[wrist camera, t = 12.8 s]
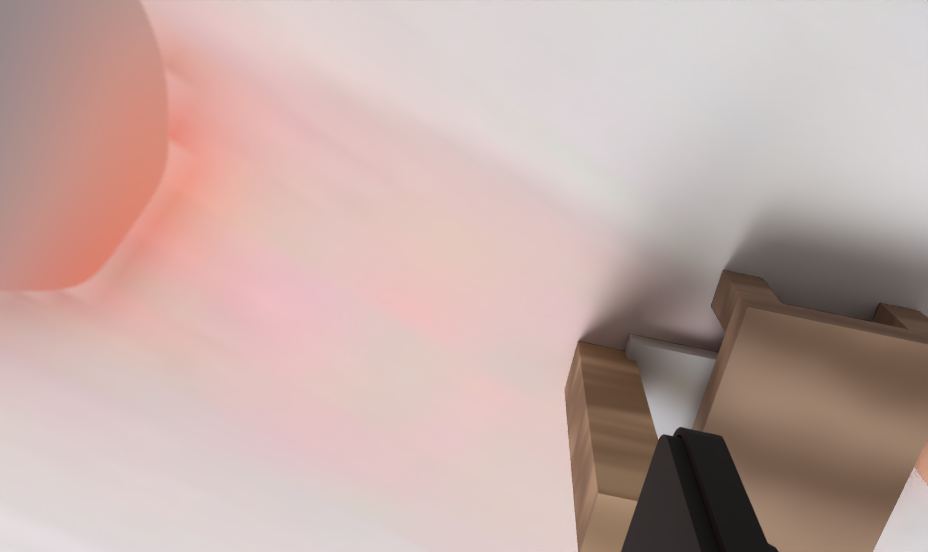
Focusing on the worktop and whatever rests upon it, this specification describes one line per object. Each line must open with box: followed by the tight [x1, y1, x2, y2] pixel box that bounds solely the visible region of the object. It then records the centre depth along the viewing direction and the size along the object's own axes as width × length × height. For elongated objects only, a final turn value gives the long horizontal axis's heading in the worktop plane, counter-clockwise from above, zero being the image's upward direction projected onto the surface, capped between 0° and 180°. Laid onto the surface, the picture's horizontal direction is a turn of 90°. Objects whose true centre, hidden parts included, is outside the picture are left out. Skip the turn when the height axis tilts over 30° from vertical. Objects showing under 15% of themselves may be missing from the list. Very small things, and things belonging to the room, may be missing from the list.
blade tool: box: [565, 334, 718, 552], centre depth 35 cm, size 5×18×13 cm, turn 79°
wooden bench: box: [692, 270, 928, 552], centre depth 39 cm, size 14×10×5 cm
